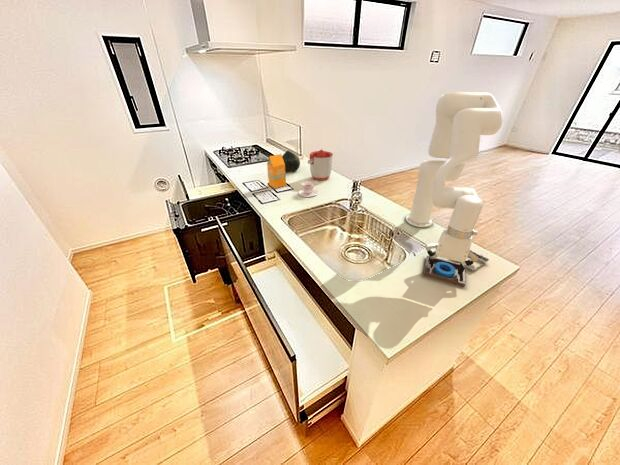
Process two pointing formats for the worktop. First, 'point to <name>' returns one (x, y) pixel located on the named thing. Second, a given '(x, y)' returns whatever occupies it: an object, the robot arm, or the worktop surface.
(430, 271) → the tray
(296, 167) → the squash
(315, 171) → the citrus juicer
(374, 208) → the worktop surface
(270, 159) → the orange juice
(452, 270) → the ring
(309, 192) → the teacup
